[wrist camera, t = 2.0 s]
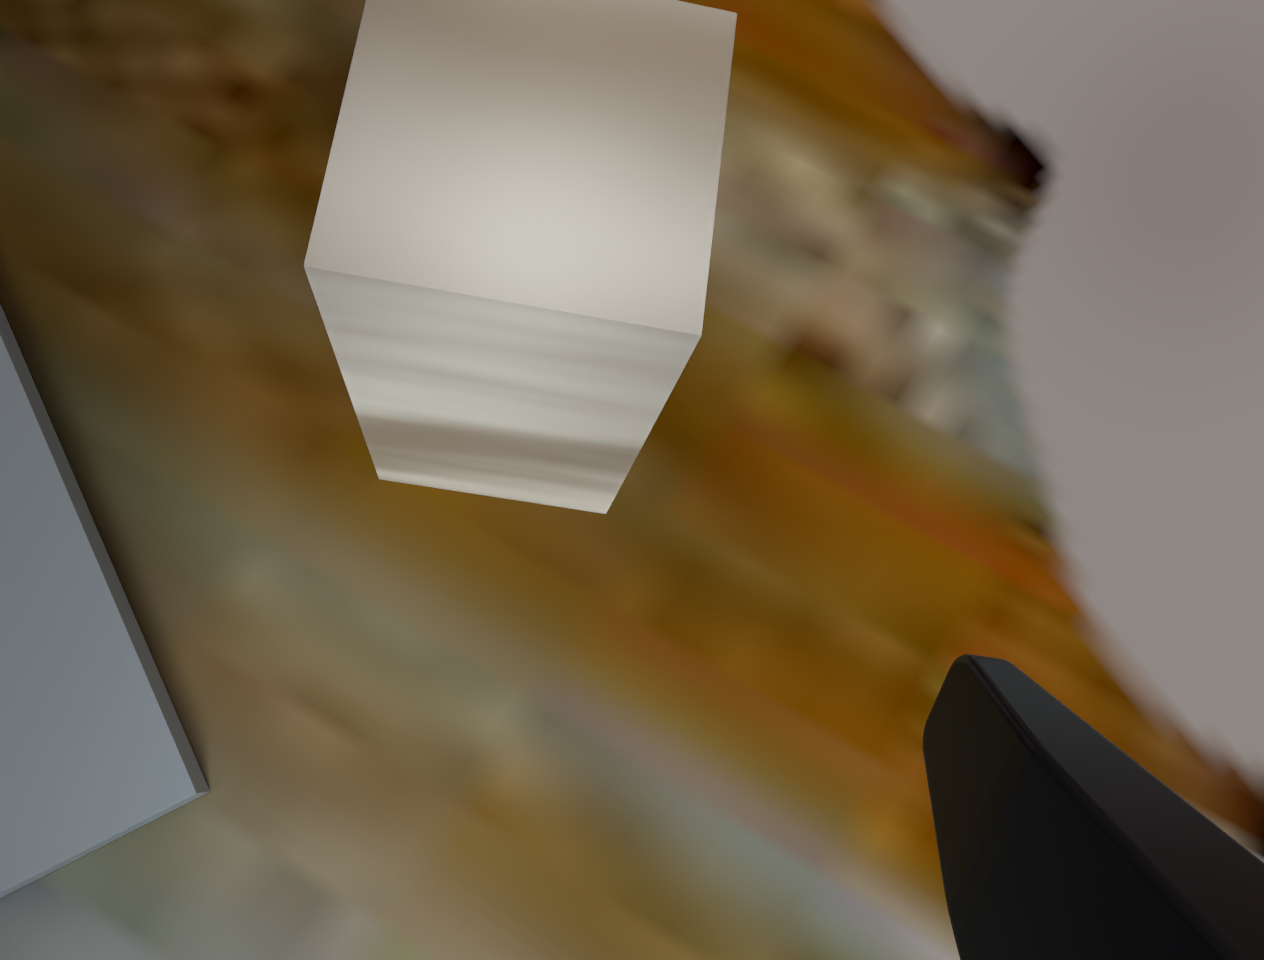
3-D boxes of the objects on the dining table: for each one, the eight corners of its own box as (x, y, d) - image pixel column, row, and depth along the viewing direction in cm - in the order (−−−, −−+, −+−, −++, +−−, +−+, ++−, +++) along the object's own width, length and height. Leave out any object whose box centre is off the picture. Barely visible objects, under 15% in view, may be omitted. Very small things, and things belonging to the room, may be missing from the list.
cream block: (605, 514, 22) (700, 336, 13) (379, 479, 22) (303, 266, 12) (632, 310, 24) (736, 13, 14) (420, 272, 23) (380, -62, 14)
